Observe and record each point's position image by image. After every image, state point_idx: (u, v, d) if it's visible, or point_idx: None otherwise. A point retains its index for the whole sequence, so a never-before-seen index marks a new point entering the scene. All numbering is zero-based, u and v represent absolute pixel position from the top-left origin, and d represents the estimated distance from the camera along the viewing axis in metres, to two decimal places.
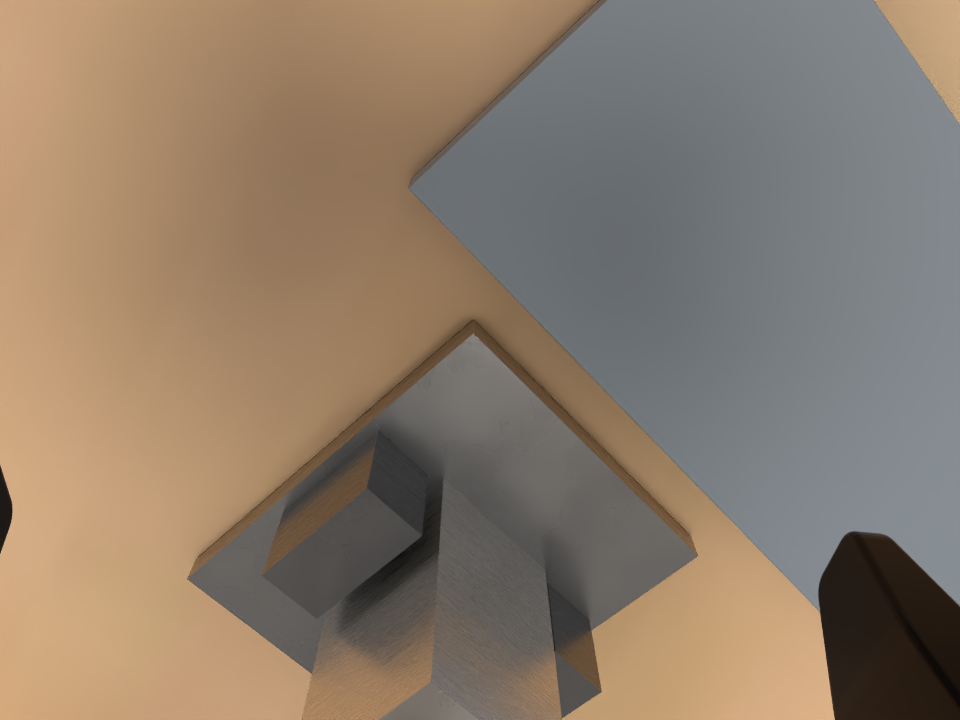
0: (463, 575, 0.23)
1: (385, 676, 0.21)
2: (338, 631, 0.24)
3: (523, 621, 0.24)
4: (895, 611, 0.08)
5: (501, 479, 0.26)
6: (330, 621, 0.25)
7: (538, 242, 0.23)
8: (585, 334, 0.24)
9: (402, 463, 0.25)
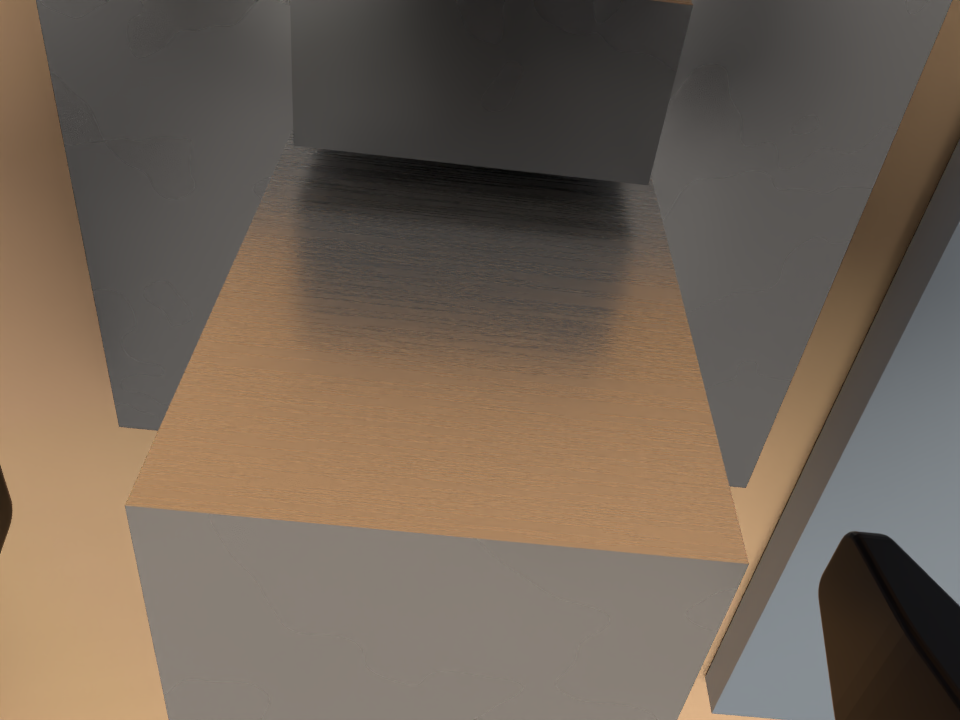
0: None
1: (539, 427, 0.07)
2: (334, 208, 0.10)
3: None
4: (895, 611, 0.08)
5: (697, 194, 0.14)
6: (302, 170, 0.10)
7: None
8: None
9: None
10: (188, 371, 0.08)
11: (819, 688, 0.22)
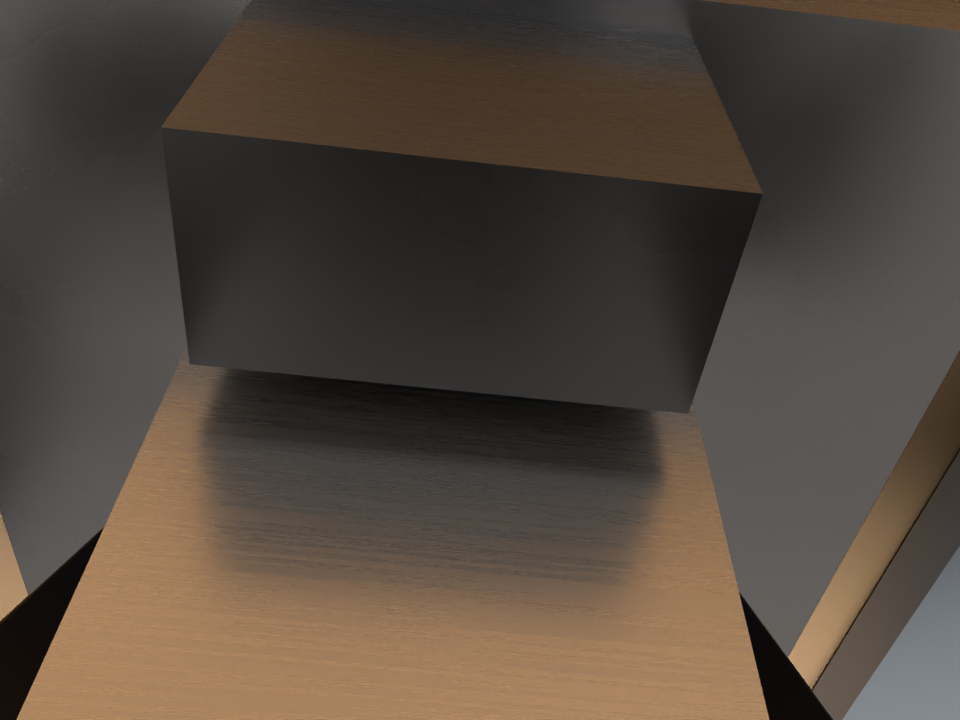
0: None
1: None
2: (244, 457, 0.07)
3: None
4: None
5: (737, 353, 0.11)
6: (207, 386, 0.08)
7: None
8: None
9: None
10: None
11: None
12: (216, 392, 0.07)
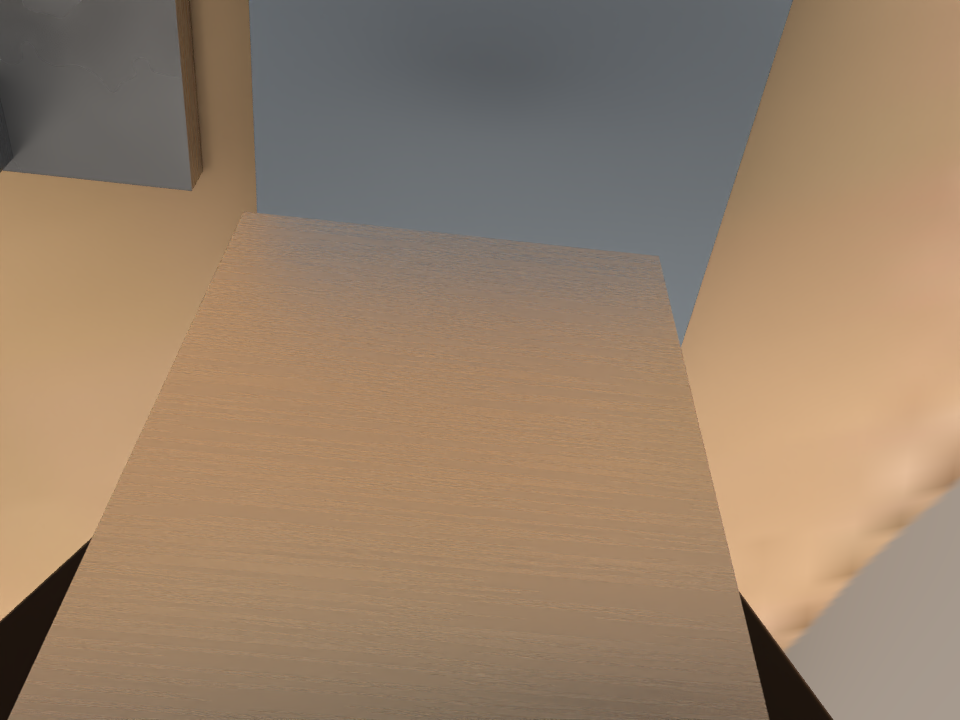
0: None
1: None
2: (240, 454, 0.07)
3: None
4: None
5: None
6: (204, 384, 0.07)
7: None
8: None
9: None
10: None
11: None
12: (212, 389, 0.07)
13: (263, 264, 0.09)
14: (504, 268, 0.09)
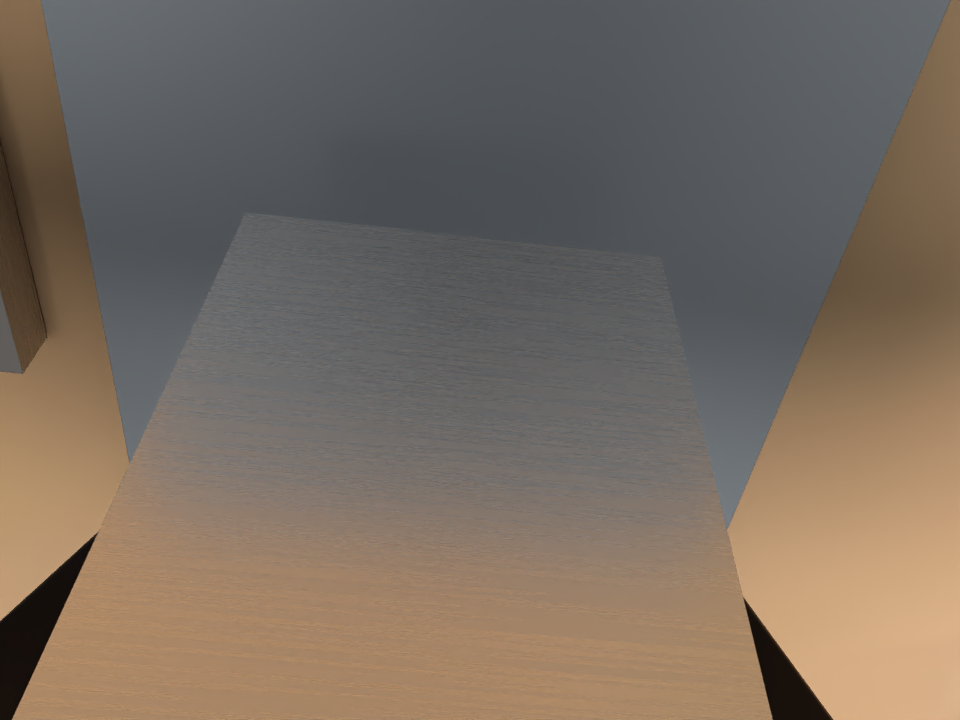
0: None
1: None
2: (242, 455, 0.07)
3: None
4: None
5: None
6: (206, 384, 0.07)
7: None
8: None
9: None
10: None
11: None
12: (215, 390, 0.07)
13: (266, 265, 0.09)
14: (506, 269, 0.09)
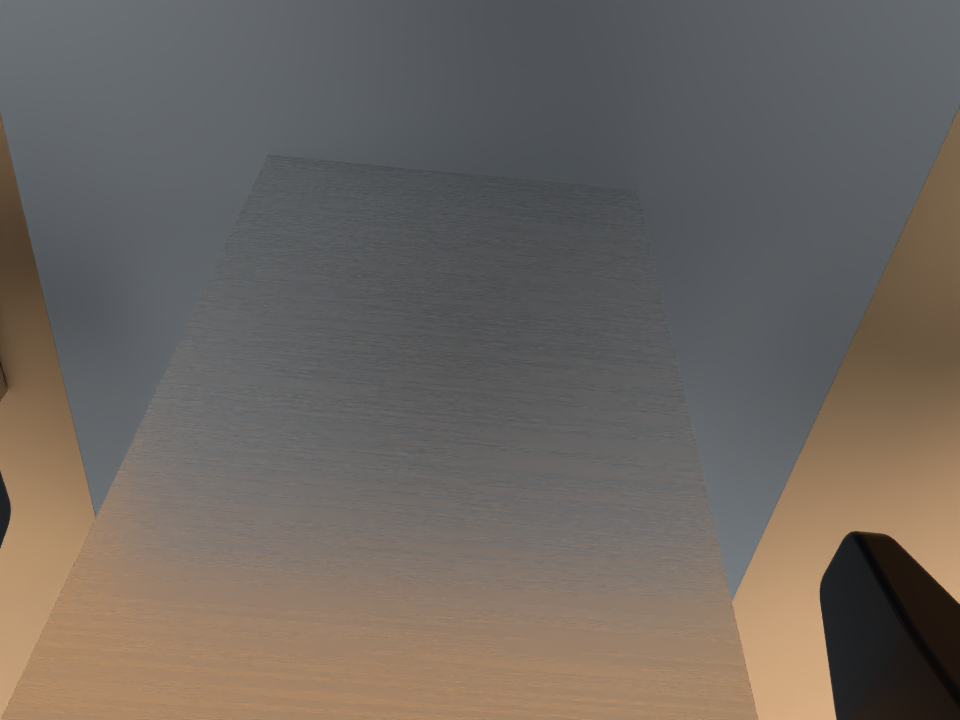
0: None
1: (514, 681, 0.06)
2: (272, 341, 0.08)
3: None
4: (897, 611, 0.08)
5: None
6: (238, 288, 0.09)
7: None
8: None
9: None
10: (61, 603, 0.06)
11: None
12: (246, 292, 0.09)
13: (286, 196, 0.10)
14: (499, 199, 0.11)
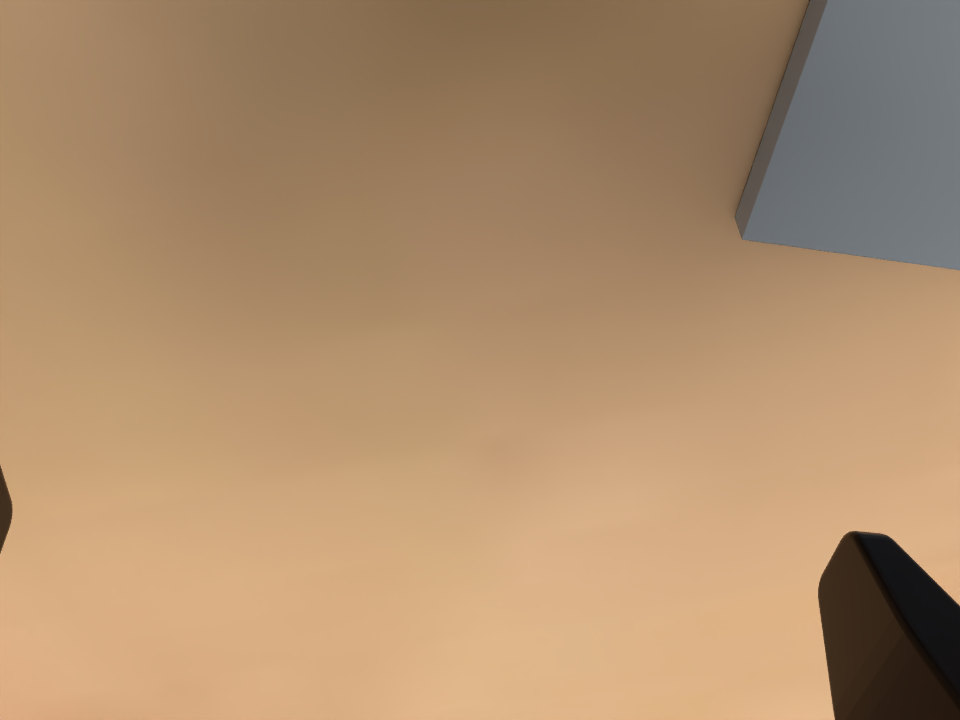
0: None
1: None
2: None
3: None
4: (895, 611, 0.08)
5: None
6: None
7: None
8: None
9: None
10: None
11: (864, 195, 0.20)
12: None
13: None
14: None
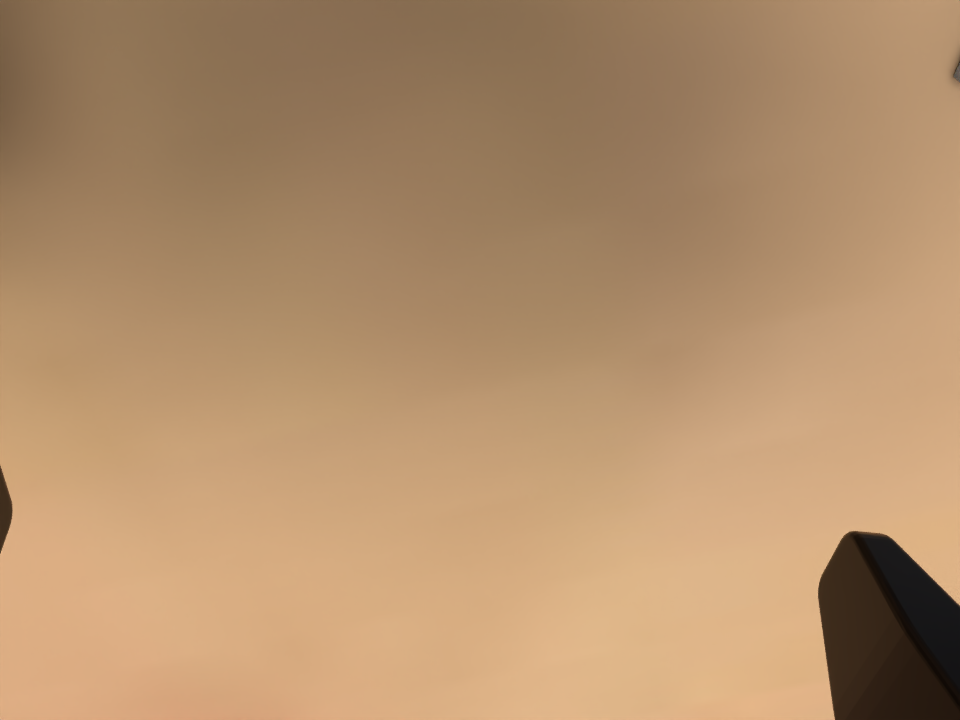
0: None
1: None
2: None
3: None
4: (895, 611, 0.08)
5: None
6: None
7: None
8: None
9: None
10: None
11: None
12: None
13: None
14: None
